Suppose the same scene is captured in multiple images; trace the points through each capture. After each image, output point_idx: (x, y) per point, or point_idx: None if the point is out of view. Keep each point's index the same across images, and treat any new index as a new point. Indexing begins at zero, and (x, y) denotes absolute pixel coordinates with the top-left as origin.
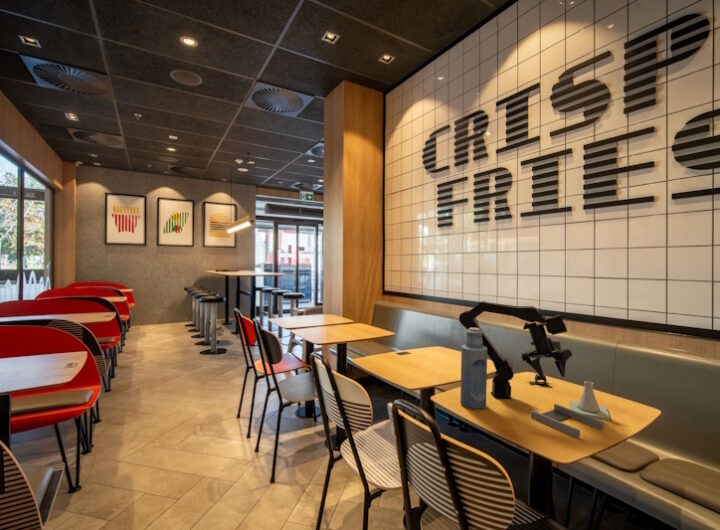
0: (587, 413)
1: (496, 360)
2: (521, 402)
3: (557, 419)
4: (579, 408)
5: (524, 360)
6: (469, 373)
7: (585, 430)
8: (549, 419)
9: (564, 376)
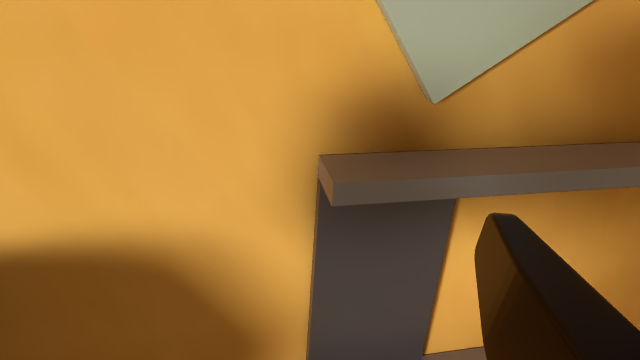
0: (539, 6)
1: None
2: (48, 269)
3: (424, 291)
4: None
5: None
6: None
7: (575, 244)
8: None
9: (510, 227)
